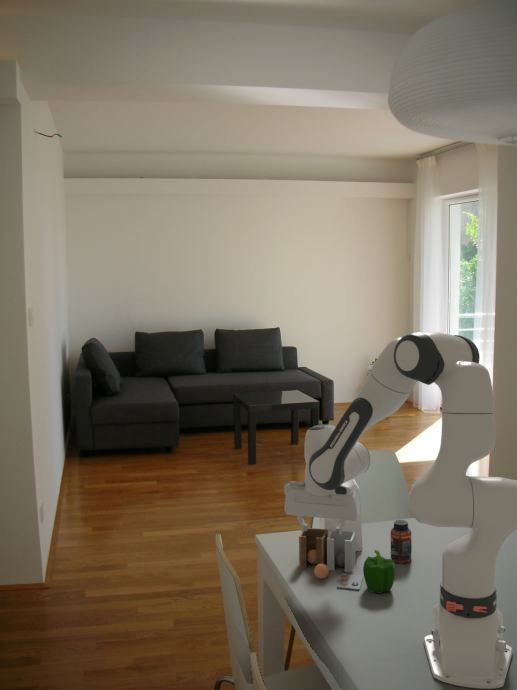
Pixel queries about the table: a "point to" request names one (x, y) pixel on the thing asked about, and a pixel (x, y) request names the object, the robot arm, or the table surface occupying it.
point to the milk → (347, 523)
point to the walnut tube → (313, 545)
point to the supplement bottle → (401, 542)
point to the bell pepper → (379, 573)
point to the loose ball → (321, 571)
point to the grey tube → (341, 549)
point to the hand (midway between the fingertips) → (321, 532)
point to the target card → (350, 582)
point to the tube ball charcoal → (340, 559)
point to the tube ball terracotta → (312, 556)
